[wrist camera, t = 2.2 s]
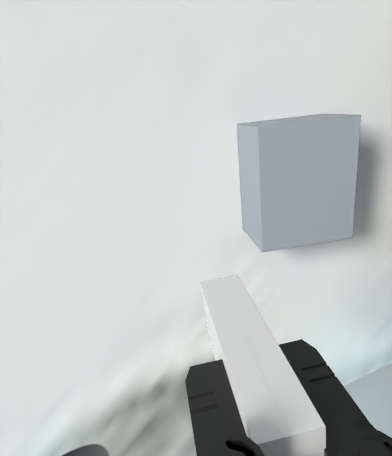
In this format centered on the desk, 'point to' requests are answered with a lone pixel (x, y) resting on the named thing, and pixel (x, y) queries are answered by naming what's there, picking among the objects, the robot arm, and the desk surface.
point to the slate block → (298, 179)
